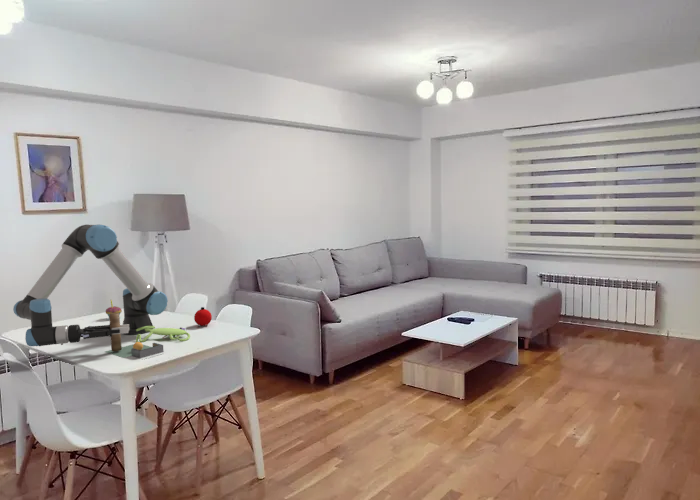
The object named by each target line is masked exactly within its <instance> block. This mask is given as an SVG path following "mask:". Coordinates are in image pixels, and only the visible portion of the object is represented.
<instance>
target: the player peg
mask: <svg viewBox="0 0 700 500" xmlns="http://www.w3.org/2000/svg"><path fill="white" fill-rule="evenodd" d="M108 319H109V325H110V329H111V330H112V328H118V327H120V325H121V320H120V319H121V317H120V315H119V313H112V314H109V316H108ZM110 345H111V349H110V350H112V351H120V350H122V347H123V346H122V334H113V335H112V337H110Z"/></svg>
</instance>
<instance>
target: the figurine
mask: <svg viewBox="0 0 700 500" xmlns="http://www.w3.org/2000/svg"><path fill="white" fill-rule="evenodd" d="M142 329H145V331H149V332H148V335H146V336H145V337H144V338H143V339H142V334H136V337H135V343H136V342H141V343H144V342H146V341H147V340H148V339H149V338H150V337H151V336H152V335H158V336H162V339H164V338H166V337H168V336H169V339H170V340H172V341H173V340H176V339H177V340H178V341H179V342H186V341H188V340H189V339H190V337H191V334H190V333H189V332H187V330H186V328H185V327H179V328H174V327H173V328H172V327H158V328H156V326H155V325H153V326H145V327H141V328H138V329H136V331H139V330H142ZM183 335H187V337H186V338H180V337H181V336H183Z"/></svg>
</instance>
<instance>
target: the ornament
mask: <svg viewBox="0 0 700 500" xmlns="http://www.w3.org/2000/svg"><path fill="white" fill-rule="evenodd" d="M212 318H213V317H212V313H211V311H209V309H206V308H205V307H204V306H201V307H200V309H198V310H197V311H196V312H195V314H194V317H193V319H194V322H195V323H196V325H198V326H200V327H205V326H207V325H209V324H210V323H211V322H212Z"/></svg>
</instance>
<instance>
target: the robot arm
mask: <svg viewBox="0 0 700 500" xmlns="http://www.w3.org/2000/svg"><path fill="white" fill-rule="evenodd" d="M117 238H118V236H117V234H116V231H114V229H113V228H111V227H110V226H108V225H104V224H82V225H80V226H78V227H76V228H75V229H74V230H73V231H72V232H71V233H70V234H69V235H68V236H67V238H66V239H64V241H63V243H62V244H61V249H60V251H59V252H58V253H57V254H56V255H55V257H54V258H53V260H52V261H51V262H50V263H49V265H48V267H47V268H46V269H45V271H44V272H43V273H42V275H41V276H40V277H39V279H38V280H37V281H36V282H35V284H34V285H33V287H31V289H30V290H29V291H28V293H27V294H26V296H24V298H23V299H21V300H19V301H17V302H15V304H14V305H13V314H15V316H16V317H19V318H21V319H24V320H25V319H26V320H29V321H30V323H31V324H30V325H31V328H28V329H27V330H26V331H25V337H24V338H25V344H26V345H27V346H28V347H42V346H43V347H44V346H52V345H61V346H63V345H64V344H68V343H70V344H73V343H80V341H81V338H83V340H88V339H94V338H103V337H110V338H111V337H112V335H113V334H121V335H122V334H123V335H131V336H132V335H133V336H134V335H138V334H140V335H142V334H147V333H150V332H149V331H145V329H142V330H139V331H136V329H138V328H141V327H145V326H154V325H153V323H152V320H151V317H150V315H151V316H157V315H161V314H162V313H163V312H164V311H165V310H166V308H167V306H168V301H169V300H168V296H167V294H165V293H164V292H162V291H159V290H158V289H157V288H156V287H155V285H154V284H153V283H148V282H147V281H146V279H144V277H143V276H142V275H141V274H140V272H139V271H138V270H137V268H136V267H135V266H134V265H133V263H132V262H131V261H130V260H129V259H128V257H126V256H125V254H124V253H123V252H122V250H121V249H120V248H119V247H120V242H119V241H118V239H117ZM87 251H89V252H91V254H92V255H93V256H94V257H95V259H96V260H97V259H98V260H102V261H103V262H104V263H105V265H106V266H108V268H109V269H110V270H111V271H112V273H113V274H114V275H115V276H116V277H117V278H118V280H119V281H120V282H121V283H122V284H123V285H124V286H125V288H124V289H123V290H122V303H123V305H122V306H123V320H122V324H120V327H118V328H112V330H111V329H110V324H105V325H93V326H92V325H89V326H87V327H86V326H85V327H84V328H81V326H80V324H70V325H68V324H67V325H66V324H65V325H57V326H55V325H54V326H53V318H52V317H53V316H52V305H51V300H50V298H49V297H50V295H51V294H52V293H53V292H54V291H55V289H56V287H57V286H58V285H59V284H60V282H61V281H62V280H63V278H64V277H65V275H66V274H67V273H68V271H70V269H71V267H73V265H74V263H75V262H76V261H77V259H78V258H81V257H83V255H84V254H85V253H86V252H87Z"/></svg>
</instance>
